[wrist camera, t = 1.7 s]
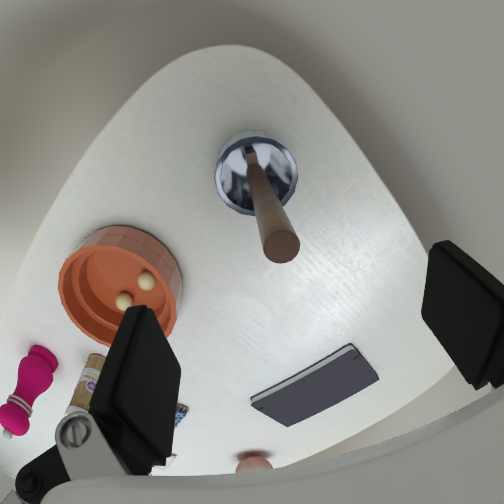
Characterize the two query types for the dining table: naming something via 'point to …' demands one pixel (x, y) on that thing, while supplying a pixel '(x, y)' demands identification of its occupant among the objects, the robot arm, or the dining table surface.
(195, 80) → the dining table surface
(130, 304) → the dough ball
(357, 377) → the notebook
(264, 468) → the decorative fruit
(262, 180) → the brown long handled piece
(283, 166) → the crock
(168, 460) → the dessert
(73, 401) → the sprinkles bottle
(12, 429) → the pepper mill
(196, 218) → the dining table surface
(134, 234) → the bowl
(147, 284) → the dough ball
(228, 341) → the dining table surface
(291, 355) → the dining table surface
